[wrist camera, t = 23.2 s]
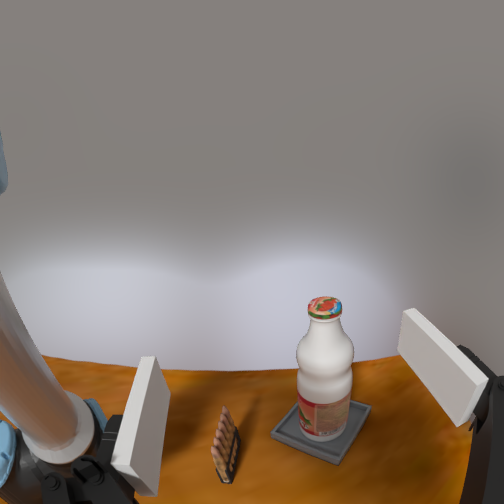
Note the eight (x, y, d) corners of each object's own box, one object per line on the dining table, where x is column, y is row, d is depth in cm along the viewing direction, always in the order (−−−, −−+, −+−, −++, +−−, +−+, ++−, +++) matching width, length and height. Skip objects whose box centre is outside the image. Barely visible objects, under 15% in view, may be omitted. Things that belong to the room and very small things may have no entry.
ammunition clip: (231, 439, 50) (219, 401, 46) (240, 440, 50) (230, 402, 46) (221, 483, 40) (205, 450, 36) (231, 484, 40) (217, 451, 36)
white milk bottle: (338, 447, 44) (349, 326, 35) (291, 436, 48) (280, 316, 39) (352, 412, 51) (363, 291, 42) (309, 403, 56) (305, 286, 47)
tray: (271, 437, 49) (270, 432, 49) (309, 392, 60) (309, 386, 59) (338, 465, 40) (339, 460, 40) (370, 411, 51) (371, 405, 50)
